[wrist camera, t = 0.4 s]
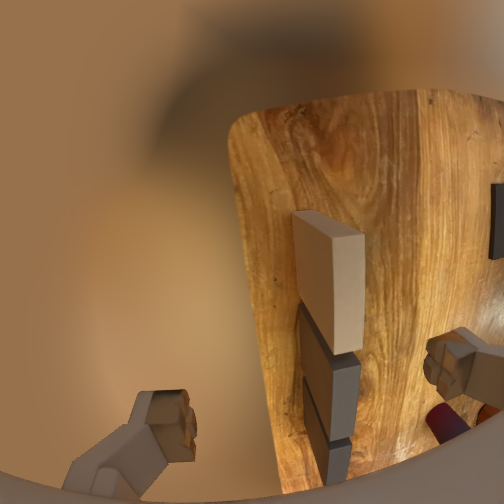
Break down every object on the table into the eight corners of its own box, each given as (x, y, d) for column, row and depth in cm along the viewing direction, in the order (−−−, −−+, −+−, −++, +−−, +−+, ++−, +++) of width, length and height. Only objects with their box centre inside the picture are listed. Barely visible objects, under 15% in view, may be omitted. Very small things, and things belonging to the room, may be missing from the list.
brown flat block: (290, 211, 32) (331, 238, 20) (313, 209, 32) (365, 233, 20) (297, 292, 34) (333, 355, 22) (318, 289, 35) (363, 349, 22)
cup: (456, 396, 43) (499, 446, 28) (440, 423, 44) (477, 473, 30) (432, 401, 42) (475, 456, 27) (415, 428, 44) (452, 484, 29)
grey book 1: (298, 304, 35) (333, 371, 22) (318, 301, 35) (361, 364, 22) (301, 367, 37) (329, 441, 25) (319, 364, 37) (353, 435, 25)
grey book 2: (302, 377, 38) (329, 450, 25) (320, 373, 38) (352, 444, 25) (303, 422, 40) (325, 491, 27) (319, 419, 40) (344, 486, 27)
